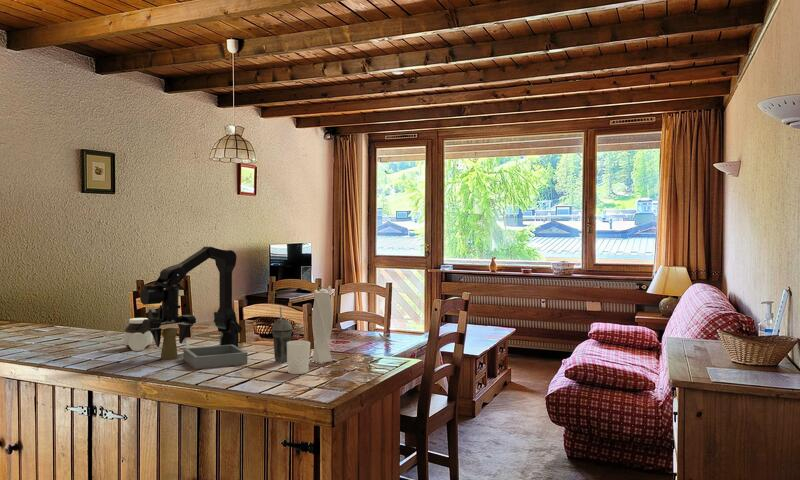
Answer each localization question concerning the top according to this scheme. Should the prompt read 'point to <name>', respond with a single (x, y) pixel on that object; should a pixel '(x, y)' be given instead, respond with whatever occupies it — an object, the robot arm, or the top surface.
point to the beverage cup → (281, 338)
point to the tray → (215, 356)
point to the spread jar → (137, 335)
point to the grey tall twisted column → (322, 325)
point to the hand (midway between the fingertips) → (169, 344)
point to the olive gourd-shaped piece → (169, 344)
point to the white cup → (298, 356)
